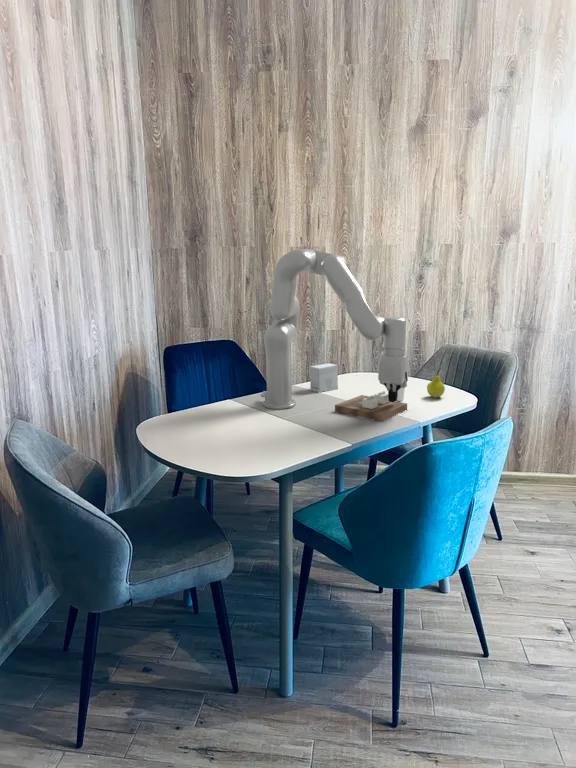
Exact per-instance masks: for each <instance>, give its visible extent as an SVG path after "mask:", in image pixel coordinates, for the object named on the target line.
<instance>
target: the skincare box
mask: <svg viewBox="0 0 576 768" xmlns="http://www.w3.org/2000/svg"><path fill="white" fill-rule="evenodd" d="M338 366H339V365H338V364H335V363H330V362H329V363H322V364H316V365H312V366H309V371H310V372H309V373H310V374H309V375H310V376H309V379H310V380H309V382H310V385H309V386H310V387H309V388H310V391H312V390H314V391H313V392H316V391H317V393H319V392H320V393H324V392H323V391H325V392H330V391H333V390H338V389H339V383H338V381H339V379H338V376H339V375H338V372H339V371H338Z"/></svg>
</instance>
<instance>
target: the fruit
mask: <svg viewBox="0 0 576 768" xmlns="http://www.w3.org/2000/svg"><path fill="white" fill-rule="evenodd" d="M441 370H442V368H440V369H438V370H437V373H436V375H434V376H433V378H432V380H431V381H430V382H429V383H428V384H427V385H426V390H427V391H426V392H427V393H428V395H429V396H431V397H432V398H436V399H437V398H440V397H442V395H444V393H445V391H446V390H445V389H446V387H445V385H444V383H443V381H441V377H440V376H439V375H438V374H439V372H440V371H441Z"/></svg>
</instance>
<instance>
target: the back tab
mask: <svg viewBox="0 0 576 768" xmlns="http://www.w3.org/2000/svg"><path fill="white" fill-rule="evenodd" d="M373 396H374V398H378V403H380V404H385V403H387V402H389V399H388V393H386V391H385V390H383V391H380V392H377V393H375V394H374V395H373Z"/></svg>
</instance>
